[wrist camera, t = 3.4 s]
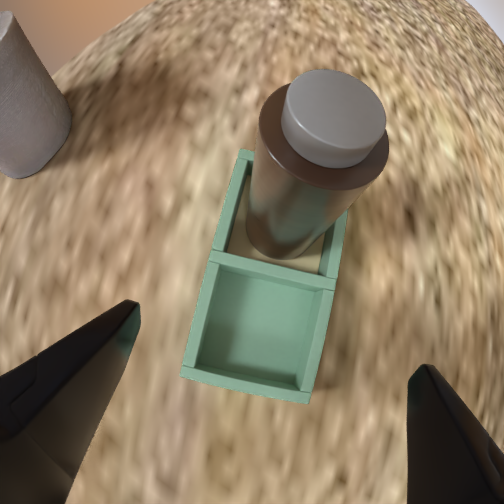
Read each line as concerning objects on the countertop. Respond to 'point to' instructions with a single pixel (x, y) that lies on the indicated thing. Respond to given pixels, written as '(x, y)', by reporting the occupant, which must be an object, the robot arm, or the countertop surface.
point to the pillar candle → (27, 105)
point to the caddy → (261, 306)
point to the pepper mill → (312, 159)
